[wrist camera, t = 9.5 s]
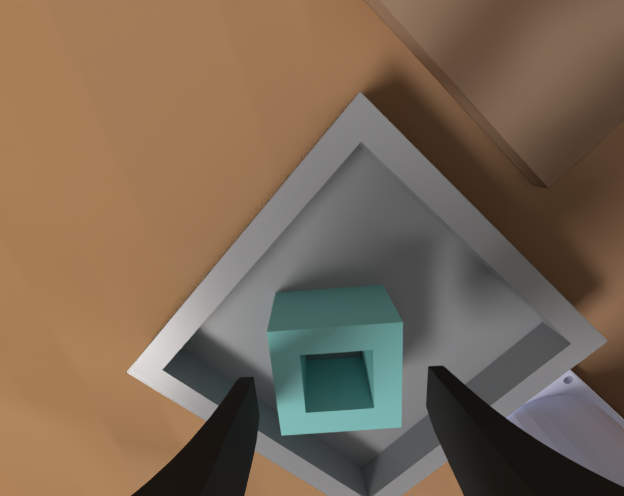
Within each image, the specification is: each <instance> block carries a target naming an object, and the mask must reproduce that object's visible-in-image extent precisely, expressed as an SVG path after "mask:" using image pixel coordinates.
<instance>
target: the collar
mask: <svg viewBox="0 0 624 496" xmlns="http://www.w3.org/2000/svg"><path fill="white" fill-rule="evenodd" d="M267 337H268V344H269V352H270V359H271V366H272V373H273V380H274V387H275V394H276V402H277V409H278V416H279V423H280V430H281V436H283V435H298V434H312V433H327V432H342V431H357V430H371V429H386V428H401V420H402V357H403V321H402V319H401V317H400V315H399V314H398V312H397V310H396V308H395V306H394V304H393V302H392V300H391V298H390V296H389V295H388V293H387V291H386V289H385V287H384V285H370V286H357V287H343V288H330V289H317V290H303V291H290V292H276V293H275V297H274V301H273V306H272V310H271V315H270V320H269V324H268V329H267ZM352 351H361V357H353V358H339V359H325V360H311V361H306V355H310V354H324V353H338V352H352Z"/></svg>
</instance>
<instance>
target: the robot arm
mask: <svg viewBox="0 0 624 496" xmlns="http://www.w3.org/2000/svg"><path fill="white" fill-rule="evenodd" d="M426 408H427V411H428V414H429V417H430V420H431V423H432V426H433V429H434V432H435V434H436V436H437V438H438V440H439V443H440V445H441V447H442V449H443V451H444V453H445V456H446V458H447V460H448V462H449V464H450V466H451V468H452V471H453V473H454V475H455V477H456V479H457V481H458V483H459V485H460V488H461V490H462V492H463V494H464V496H624V419H623V418H622V417H621V416H620V415H619V414H618V413H617V412H616V411H615V410H613V409H612V408H611V407H610V406H609V405H608V404H607V403H606V402H605V401H604V400H603V399H602V398H601V397H599V396H598V395H597V394H596V393H595V392H594V391H593V390H592V389H591V388H590V387H589V386H588V385H587V384H586V383H584V382H583V381H582V380H581V379H580V378H579V377H578V376H577V375H576V374H575V373H574V372H573V371H572V370H569V371H567V372H566V373H565V374H563V375H562V376H561V377H559V378H558V379H557V380H555V381H554V382H553V383H551V384H550V385H549V386H547V387H546V388H545V389H543V390H542V391H541V392H539V393H538V394H537V395H535V396H534V397H533V398H531V399H530V400H529V401H527V402H526V403H525V404H523V405H522V406H521V407H519V408H518V409H517V410H515V411H514V412H513V413H511V414H510V415H509V416H507V417H506V418H505V417H504V416H503V415H501V414H500V413H499V412H497V411H496V410H495V409H493V408H492V407H491V406H490V405H488V404H487V403H486V402H485V401H484V400H482V399H481V398H480V397H479V396H477V395H476V394H475V393H474V392H473V391H472V390H470V389H469V388H468V387H467V386H466V385H465V384H464V383H462V382H461V381H460V380H459V379H458V378H457V377H456V376H455V375H453V374H452V373H451V372H450V371H449V370H448V369H447V368H445V367H444V366H443V365H441V366H428V378H427V396H426ZM259 417H260V414H259V408H258V401H257V395H256V388H255V382H254V377H239V378H238V379H237V381H236V382H235V383H234V385H233V386H232V388H231V389H230V391H229V392H228V393H227V395H226V396H225V398H224V399H223V400H222V402H221V403H220V405H219V406H218V407H217V408H216V410H215V411H214V412H213V414H212V415H211V416H210V418H209V419H208V420H207V421H206V423H205V424H204V425H203V426H202V427H201V429H200V430H199V431H198V432H197V433H196V434H195V436H194V437H193V438H192V439H191V440H190V441H189V442H188V444H187V445H186V446H185V447H184V448H183V449H182V450H181V451H180V452H179V453H178V454H177V455H176V456H175V457H174V458H173V459H172V460H171V461H170V462H169V463H168V464H167V465H166V466H165V467H164V468H163V469H162V470H160V471H159V472H158V473H157V474H156V475H155V476H154V477H153V478H152V479H151V480H149V481H148V482H147V483H146V484H145V485H144V486H142V487H141V488H140V489H139V490H138V491H136V492H135V493H134V494H133V495H131V496H244V495H245V490H246V486H247V482H248V477H249V473H250V469H251V464H252V460H253V456H254V451H255V447H256V442H257V435H258V426H259Z"/></svg>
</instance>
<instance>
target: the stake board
mask: <svg viewBox="0 0 624 496" xmlns="http://www.w3.org/2000/svg"><path fill="white" fill-rule="evenodd" d="M365 1H366V2H367V3H368V4H369V6H370V7H371V8H372V9H373V10H374V11H375V12H376V13H377V14H378V15H379V17H380V18H381V19H382V20H383V21H384V22H385V23H386V24H387V25H388V26H389V27H390V29H391V30H392V31H393V32H394V33H395V34H396V35H397V36H398V37H399V38H400V40H401V41H402V42H403V43H404V44H405V45H406V46H407V47H408V48H409V49H410V51H411V52H412V53H413V54H414V55H415V56H416V57H417V58H418V59H419V60H420V62H421V63H422V64H423V65H424V66H425V67H426V68H427V69H428V70H429V71H430V72H431V74H432V75H433V76H434V77H435V78H436V79H437V80H438V81H439V82H440V83H441V85H442V86H443V87H444V88H445V89H446V90H447V91H448V92H449V93H450V94H451V96H452V97H453V98H454V99H455V100H456V101H457V102H458V103H459V104H460V105H461V107H462V108H463V109H464V110H465V111H466V112H467V113H468V114H469V115H470V116H471V118H472V119H473V120H474V121H475V122H476V123H477V124H478V125H479V126H480V127H481V128H482V130H483V131H484V132H485V133H486V134H487V135H488V136H489V137H490V138H491V139H492V141H493V142H494V143H495V144H496V145H497V146H498V147H499V148H500V149H501V150H502V152H503V153H504V154H505V155H506V156H507V157H508V158H509V159H510V160H511V161H512V163H513V164H514V165H515V166H516V167H517V168H518V169H519V170H520V171H521V172H522V173H523V175H524V176H525V177H526V178H527V179H528V180H529V181H530V182H531V183H532V184H533V186H538V187H543V188H548V189H549V188H550V187H551V186H552V185H553V184H554V183H555V182H557V181H558V180H559V179H560V178H561V177H562V176H563V175H564V174H565V173H566V172H567V171H569V170H570V169H571V168H572V167H573V166H574V165H575V164H576V163H577V162H578V161H579V160H581V159H582V158H583V157H584V156H585V155H586V154H587V153H588V152H589V151H590V150H591V149H592V148H594V147H595V146H596V145H597V144H598V143H599V142H600V141H601V140H602V139H603V138H604V137H606V136H607V135H608V134H609V133H610V132H611V131H612V130H613V129H614V128H615V127H616V126H618V125H619V124H620V123H621V122H622V121H623V120H624V0H365Z"/></svg>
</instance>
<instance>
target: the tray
mask: <svg viewBox="0 0 624 496" xmlns="http://www.w3.org/2000/svg"><path fill="white" fill-rule="evenodd" d="M370 285H384V287H385V289H386V291H387V293H388V295H389V296H390V298H391V300H392V302H393V304H394V306H395V308H396V310H397V312H398V314H399V315H400V317H401V319H402V321H403V357H402V420H401V428H386V429H371V430H357V431H342V432H327V433H312V434H298V435H283V436H281V430H280V423H279V416H278V409H277V402H276V394H275V387H274V380H273V373H272V366H271V359H270V352H269V344H268V337H267V329H268V324H269V320H270V315H271V310H272V306H273V301H274V297H275V293H276V292H290V291H303V290H317V289H330V288H343V287H357V286H370ZM606 342H608V341H607V340H606V339H605V338H604V337H603V336H602V335H601V334H600V333H599V332H598V331H597V330H596V329H595V328H594V327H593V326H592V325H591V324H590V323H589V322H588V321H587V320H586V319H585V318H584V317H583V316H582V315H581V314H580V313H579V312H578V311H577V310H576V309H575V308H574V307H573V306H572V305H571V304H570V303H569V302H568V301H567V300H566V299H565V298H564V297H563V296H562V295H561V294H560V293H559V292H558V291H557V290H556V289H555V288H554V287H553V286H552V285H551V283H550V282H549V281H548V280H547V279H546V278H545V277H544V276H543V275H542V274H541V273H540V272H539V271H538V270H537V269H536V268H535V267H534V266H533V265H532V264H531V263H530V262H529V261H528V260H527V259H526V258H525V257H524V256H523V255H522V254H521V253H520V252H519V251H518V250H517V249H516V248H515V247H514V246H513V245H512V244H511V243H510V242H509V241H508V240H507V239H506V238H505V237H504V236H503V235H502V234H501V233H500V232H499V231H498V230H497V229H496V228H495V227H494V226H493V225H492V224H491V223H490V222H489V221H488V220H487V219H486V218H485V217H484V216H483V215H482V214H481V213H480V212H479V211H478V210H477V209H476V208H475V207H474V206H473V205H472V204H471V203H470V202H469V201H468V200H467V199H466V198H465V197H464V196H463V195H462V194H461V193H460V192H459V191H458V190H457V189H456V188H455V187H454V186H453V185H452V184H451V183H450V182H449V181H448V180H447V179H446V178H445V177H444V176H443V175H442V174H441V173H440V172H439V171H438V170H437V169H436V168H435V167H434V166H433V165H432V164H431V163H430V162H429V161H428V160H427V159H426V158H425V157H424V156H423V155H422V154H421V152H420V151H419V150H418V149H417V148H416V147H415V146H414V145H413V144H412V143H411V142H410V141H409V140H408V139H407V138H406V137H405V136H404V135H403V134H402V133H401V132H400V131H399V130H398V129H397V128H396V127H395V126H394V125H393V124H392V123H391V122H390V121H389V120H388V119H387V118H386V117H385V116H384V115H383V114H382V113H381V112H380V111H379V110H378V109H377V108H376V107H375V106H374V105H373V104H372V103H371V102H370V101H369V100H368V99H367V98H366V97H365V96H364V95H363V94H362V93H361V92H359V93H358V94H357V95H356V96H355V97H354V98H353V99H352V100H351V102H350V103H349V104H348V105H347V106H346V108H345V109H344V110H343V111H342V112H341V114H340V115H339V116H338V117H337V118H336V120H335V121H334V122H333V123H332V124H331V126H330V127H329V128H328V129H327V130H326V132H325V133H324V134H323V135H322V136H321V138H320V139H319V140H318V141H317V142H316V144H315V145H314V146H313V147H312V148H311V150H310V151H309V152H308V153H307V154H306V156H305V157H304V158H303V159H302V160H301V162H300V163H299V164H298V165H297V166H296V168H295V169H294V170H293V171H292V173H291V174H290V175H289V176H288V177H287V179H286V180H285V181H284V182H283V183H282V185H281V186H280V187H279V188H278V189H277V191H276V192H275V193H274V194H273V195H272V197H271V198H270V199H269V200H268V201H267V203H266V204H265V205H264V206H263V207H262V209H261V210H260V211H259V212H258V213H257V215H256V216H255V217H254V218H253V219H252V221H251V222H250V223H249V224H248V225H247V227H246V228H245V229H244V230H243V231H242V233H241V234H240V235H239V236H238V237H237V239H236V240H235V241H234V242H233V243H232V245H231V246H230V247H229V248H228V249H227V251H226V252H225V253H224V254H223V255H222V257H221V258H220V259H219V260H218V262H217V263H216V264H215V265H214V266H213V268H212V269H211V270H210V271H209V272H208V274H207V275H206V276H205V277H204V278H203V280H202V281H201V282H200V283H199V284H198V286H197V287H196V288H195V289H194V290H193V292H192V293H191V294H190V295H189V296H188V298H187V299H186V300H185V301H184V302H183V304H182V305H181V306H180V307H179V308H178V310H177V311H176V312H175V313H174V314H173V316H172V317H171V318H170V319H169V320H168V322H167V323H166V324H165V325H164V326H163V328H162V329H161V330H160V331H159V332H158V334H157V335H156V336H155V337H154V338H153V340H152V341H151V342H150V343H149V345H148V346H147V347H146V348H145V350H144V351H143V352H142V353H141V355H140V356H139V357H138V359H137V360H136V361H135V362H134V364H133V365H132V366H131V367H130V369H129V370H128V371H127V373H128V374H130V375H132V376H133V377H135V378H137V379H138V380H140V381H141V382H143V383H145V384H146V385H148V386H150V387H151V388H153V389H155V390H156V391H158V392H159V393H161V394H163V395H164V396H166V397H168V398H169V399H171V400H173V401H174V402H176V403H177V404H179V405H181V406H182V407H184V408H186V409H187V410H189V411H190V412H192V413H194V414H195V415H197V416H199V417H200V418H202V419H204V420H205V421H207V420H208V419H209V418H210V416H211V415H212V414H213V412H214V411H215V410H216V408H217V407H218V406H219V405H220V403H221V402H222V400H223V399H224V398H225V396H226V395H227V393H228V392H229V391H230V389H231V388H232V386H233V385H234V383H235V382H236V381H237V379H238V378H239V377H254V382H255V388H256V395H257V401H258V408H259V414H260V417H259V426H258V435H257V442H256V447H255V451H256V452H258V453H259V454H261V455H262V456H264V457H266V458H267V459H269V460H271V461H272V462H274V463H276V464H277V465H279V466H280V467H282V468H284V469H285V470H287V471H289V472H290V473H292V474H294V475H295V476H297V477H298V478H300V479H302V480H303V481H305V482H307V483H308V484H310V485H311V486H313V487H315V488H316V489H318V490H320V491H321V492H323V493H325V494H326V495H328V496H401V495H403V494H404V493H405V492H407V491H408V490H409V489H411V488H412V487H413V486H415V485H416V484H417V483H419V482H420V481H421V480H423V479H424V478H425V477H427V476H428V475H429V474H431V473H432V472H434V471H435V470H436V469H438V468H439V467H440V466H442V465H443V464H444V463H446V462H447V461H448V460H447V458H446V456H445V453H444V451H443V449H442V447H441V445H440V443H439V440H438V438H437V436H436V434H435V432H434V429H433V426H432V423H431V420H430V417H429V414H428V411H427V408H426V396H427V378H428V366H441V365H443V366H444V367H445V368H447V369H448V370H449V371H450V372H451V373H452V374H453V375H455V376H456V377H457V378H458V379H459V380H460V381H461V382H462V383H464V384H465V385H466V386H467V387H468V388H469V389H470V390H472V391H473V392H474V393H475V394H476V395H477V396H479V397H480V398H481V399H482V400H484V401H485V402H486V403H487V404H488V405H490V406H491V407H492V408H493V409H495V410H496V411H497V412H499V413H500V414H501V415H503V416H504V417H505V418H506V417H507V416H509V415H510V414H511V413H513V412H514V411H515V410H517V409H518V408H519V407H521V406H522V405H523V404H525V403H526V402H527V401H529V400H530V399H531V398H533V397H534V396H535V395H537V394H538V393H539V392H541V391H542V390H543V389H545V388H546V387H547V386H549V385H550V384H551V383H553V382H554V381H555V380H557V379H558V378H559V377H561V376H562V375H563V374H565V373H566V372H567V371H569V370H570V369H571V368H573V367H574V366H576V365H577V364H578V363H580V362H581V361H582V360H584V359H585V358H586V357H588V356H589V355H590V354H592V353H593V352H594V351H596V350H597V349H598V348H600V347H601V346H602V345H604V344H605V343H606ZM353 357H361V351H352V352H338V353H324V354H310V355H306V361H311V360H325V359H339V358H353Z"/></svg>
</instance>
